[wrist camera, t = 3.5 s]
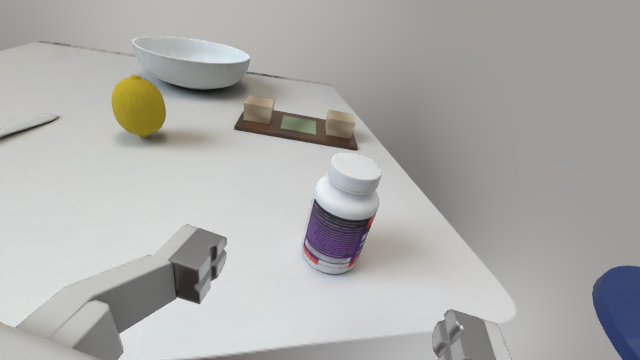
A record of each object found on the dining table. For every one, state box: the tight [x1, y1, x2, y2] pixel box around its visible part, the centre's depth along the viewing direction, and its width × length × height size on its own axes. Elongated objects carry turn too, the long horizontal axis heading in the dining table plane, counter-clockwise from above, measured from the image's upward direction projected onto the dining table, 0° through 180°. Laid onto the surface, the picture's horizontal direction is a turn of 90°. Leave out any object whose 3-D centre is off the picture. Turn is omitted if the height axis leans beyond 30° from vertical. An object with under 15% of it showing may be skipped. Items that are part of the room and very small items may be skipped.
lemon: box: [112, 75, 166, 138], centre depth 34 cm, size 6×6×8 cm
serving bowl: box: [132, 36, 250, 90], centre depth 56 cm, size 21×21×7 cm
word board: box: [234, 95, 357, 150], centre depth 48 cm, size 20×10×4 cm, turn 92°
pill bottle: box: [302, 153, 382, 274], centre depth 24 cm, size 5×5×10 cm
